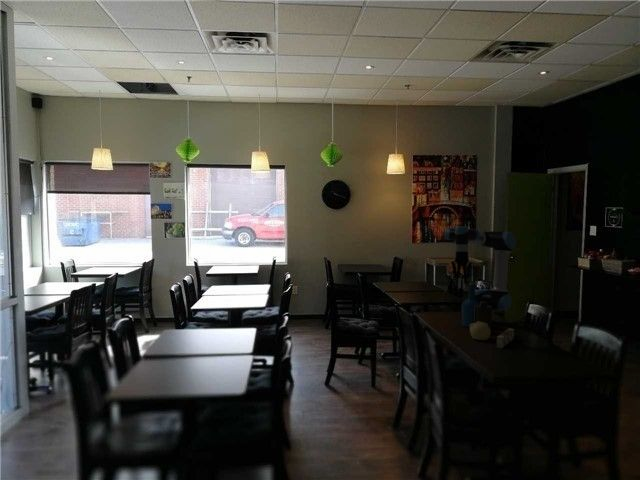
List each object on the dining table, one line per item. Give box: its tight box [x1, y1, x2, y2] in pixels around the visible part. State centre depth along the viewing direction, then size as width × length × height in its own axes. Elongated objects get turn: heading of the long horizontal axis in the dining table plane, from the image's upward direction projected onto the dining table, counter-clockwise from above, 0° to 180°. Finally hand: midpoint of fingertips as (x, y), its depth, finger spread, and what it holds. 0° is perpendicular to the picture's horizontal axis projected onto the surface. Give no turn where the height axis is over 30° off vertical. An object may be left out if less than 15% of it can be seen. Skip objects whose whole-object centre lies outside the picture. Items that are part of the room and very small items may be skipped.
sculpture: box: [469, 321, 491, 341], centre depth 282 cm, size 11×12×11 cm
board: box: [496, 328, 515, 349], centre depth 273 cm, size 24×3×6 cm, turn 142°
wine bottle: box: [461, 281, 480, 329], centre depth 315 cm, size 14×13×30 cm
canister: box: [474, 301, 492, 335], centre depth 297 cm, size 11×10×20 cm
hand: (461, 288), depth 287 cm, fingers open, 2 cm apart
